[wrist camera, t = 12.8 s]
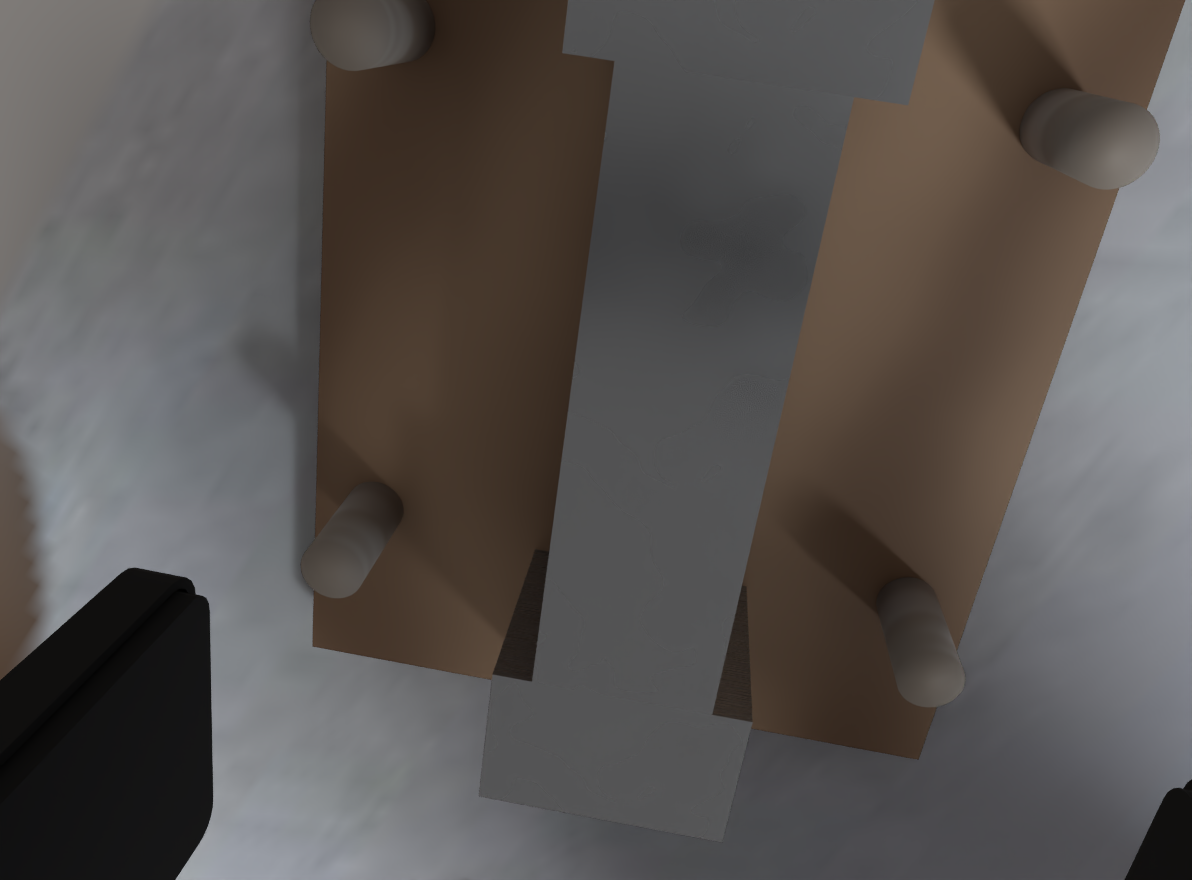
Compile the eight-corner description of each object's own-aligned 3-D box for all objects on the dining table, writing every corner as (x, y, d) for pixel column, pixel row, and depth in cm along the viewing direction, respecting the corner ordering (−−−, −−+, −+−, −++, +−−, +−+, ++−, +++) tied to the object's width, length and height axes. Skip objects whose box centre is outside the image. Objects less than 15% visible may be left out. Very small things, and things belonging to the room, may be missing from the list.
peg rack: (1191, -117, 19) (1326, -153, 14) (908, 721, 27) (941, 850, 23) (361, -236, 19) (264, -301, 15) (332, 614, 28) (265, 720, 23)
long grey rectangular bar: (906, -105, 18) (970, -143, 13) (722, 692, 25) (722, 843, 21) (622, -144, 18) (590, -196, 14) (521, 655, 26) (478, 796, 21)
